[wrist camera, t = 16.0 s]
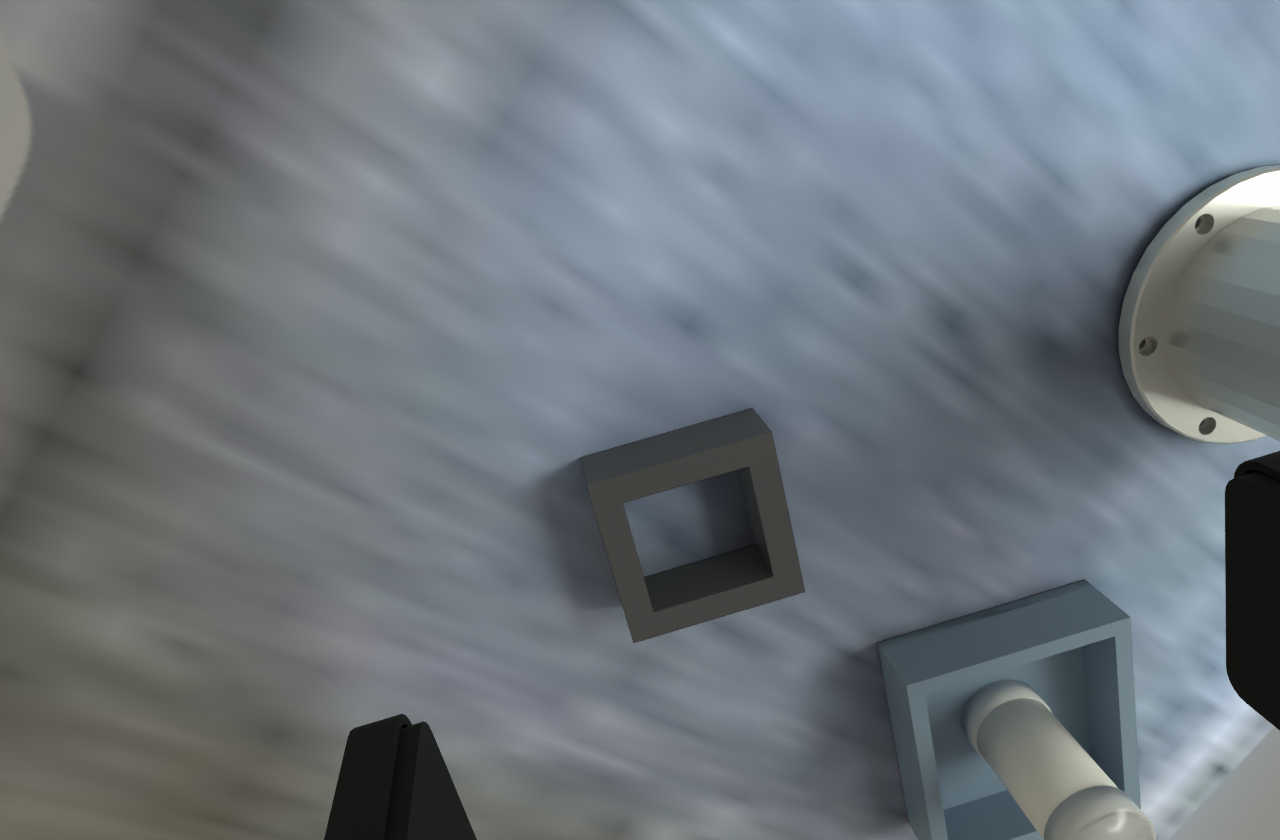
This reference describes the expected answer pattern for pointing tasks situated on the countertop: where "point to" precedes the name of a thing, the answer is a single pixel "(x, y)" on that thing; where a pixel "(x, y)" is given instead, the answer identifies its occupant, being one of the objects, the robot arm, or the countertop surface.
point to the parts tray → (997, 650)
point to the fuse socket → (716, 579)
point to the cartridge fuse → (1048, 768)
